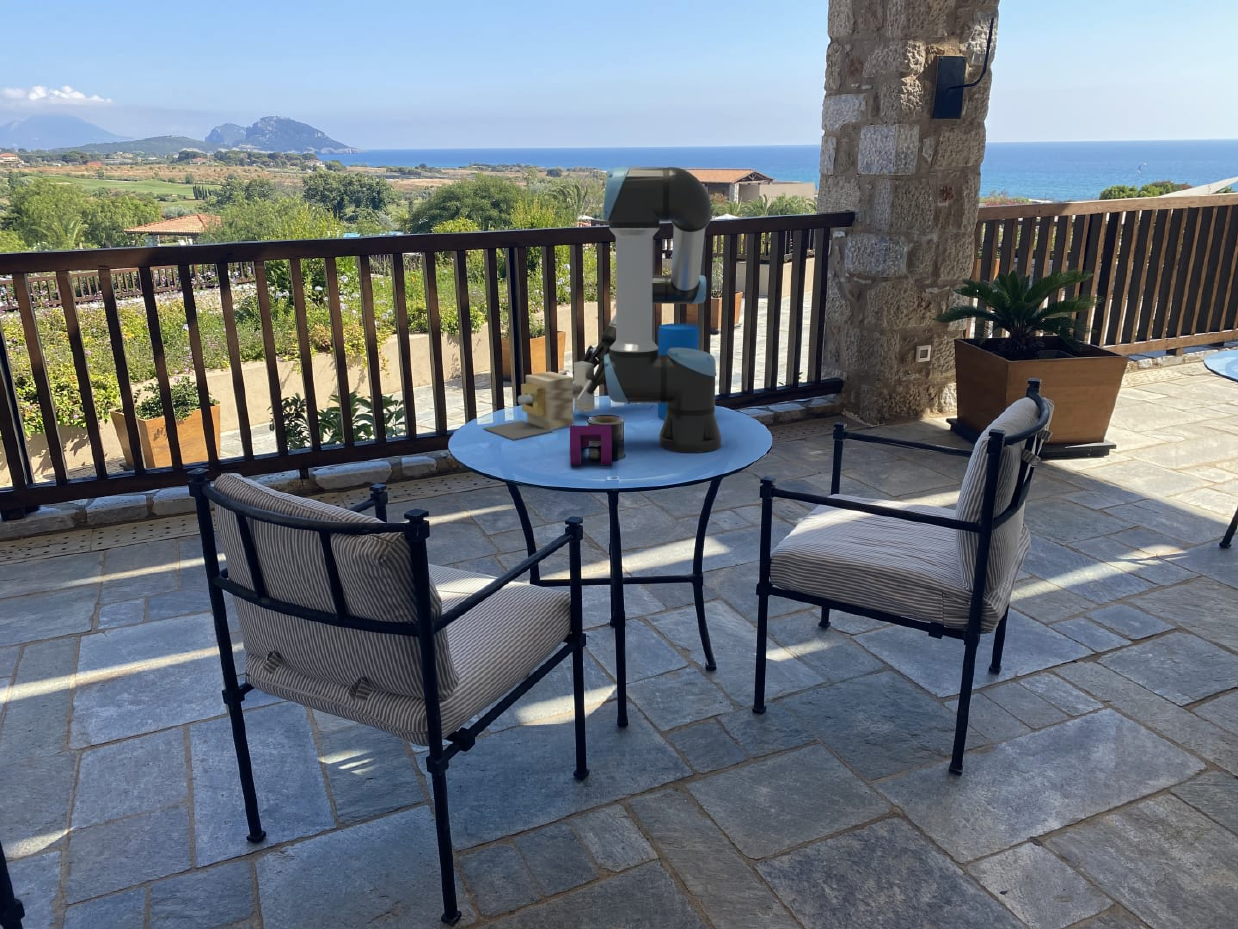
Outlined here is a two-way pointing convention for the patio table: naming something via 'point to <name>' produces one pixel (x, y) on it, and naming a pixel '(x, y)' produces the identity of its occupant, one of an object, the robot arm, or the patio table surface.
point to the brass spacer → (534, 399)
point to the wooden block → (553, 400)
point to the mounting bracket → (590, 433)
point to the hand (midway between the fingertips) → (573, 400)
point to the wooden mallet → (581, 378)
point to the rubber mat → (517, 430)
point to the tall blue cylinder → (675, 345)
